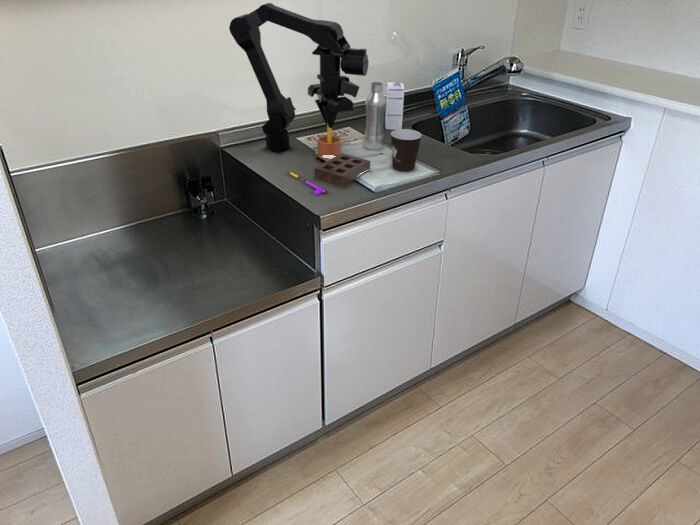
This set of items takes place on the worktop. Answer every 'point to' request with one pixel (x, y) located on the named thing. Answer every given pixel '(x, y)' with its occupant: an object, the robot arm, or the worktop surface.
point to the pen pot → (329, 146)
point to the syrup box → (394, 105)
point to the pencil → (329, 134)
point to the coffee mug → (404, 149)
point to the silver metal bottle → (374, 117)
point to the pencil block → (342, 169)
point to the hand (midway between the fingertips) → (329, 126)
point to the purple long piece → (318, 189)
